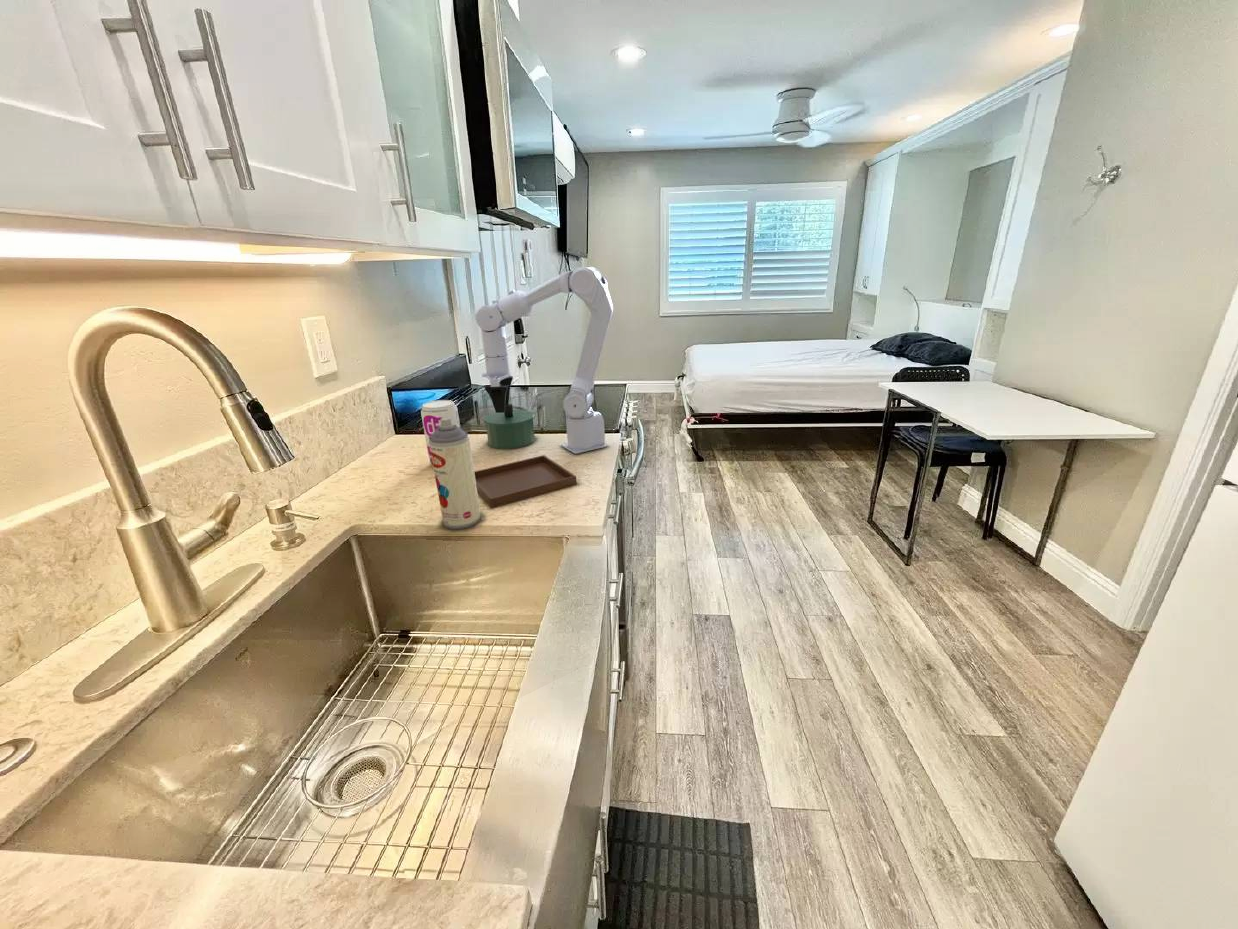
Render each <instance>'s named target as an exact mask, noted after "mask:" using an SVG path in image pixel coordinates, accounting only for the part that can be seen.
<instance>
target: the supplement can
mask: <svg viewBox="0 0 1238 929" xmlns="http://www.w3.org/2000/svg"><path fill="white" fill-rule="evenodd" d="M458 411H459V410H458V406H457V405H456V403H454V401H453V400H451V399H450V400H449V399H439V400H438V399H437V400H432V401H428V402H425V403H423V404H422V408H421V410H420V415H421V421H422V427H423V431H424V432H423V433H424V437H425V443H426V449H427V453H428V460H429V464H430V465H431V466H433V463H432V458H431V452H430V447H429V441H430V440H429V437H430V436H431V435H432V434H433V433H434V431H435V430H436V429H438V427H439V426H440V425H441V419H442V418H446V417H449V418H451V421H452V423H454V424H455V425H456V426H457V427H460V428H461V424H460V417H459V412H458Z"/></svg>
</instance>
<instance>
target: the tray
mask: <svg viewBox="0 0 1238 929" xmlns="http://www.w3.org/2000/svg"><path fill="white" fill-rule="evenodd" d="M474 473H475V480H476V487H477V493H478V495H479V496H480V497H481V498H482V499H483V500H484V501H485V502H486V503H487V504H488V506H490V508H496V507H499V506H503V505H506V504H511V503H513V502H518V501H521V500H525V499H528V498H533V497H536V496H540V495H543V494H546V493H550V492H553V491H557V490H562V489H564V488H568V487H572V486H575V485H577V483H578V482H577V476H576V475H575V474H573V473H572V472H571V471H569V470H568V469H566V468H565V467H563V466H562V465H560V464H558V463H557V462H555V461H554V460H552V458H549V457H548V456H546V455H545V454H543V455H538V456H535V457H530V458H525V459H522V460H518V461H517V460H516V461H512V462H509V463H504V464H501V465H496V466H492V467H487V468H483V469H479V470H474Z"/></svg>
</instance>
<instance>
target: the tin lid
mask: <svg viewBox="0 0 1238 929" xmlns="http://www.w3.org/2000/svg"><path fill="white" fill-rule="evenodd" d="M513 407H514V406H513V404H512V403H509V404H508V405H505V412H504V413H496V411H495V412H491V413H489V414H486V415H485V416H484V417H483V422H484V423H485V425H486V424H489V425H494V426H511V425H518V424H523V423H526V422H529V421H531V420H532V419H533V420H534V419H535V413H534V412H532V411H530V410H525V409H514V408H513Z"/></svg>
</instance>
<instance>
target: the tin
mask: <svg viewBox="0 0 1238 929" xmlns="http://www.w3.org/2000/svg"><path fill="white" fill-rule="evenodd" d="M485 428H486V435H487V442H488V446H490V447H491V448H494V449H501V450H513V449H520V448H523V447H526V446H529V445H532V444H533V443H534V442H535V440H536V439H535V437H536V436H535V427H534V419H532V420H531V421H529V422H526V423H523V424H518V425H511V426H494V425H489V424H486V423H485Z"/></svg>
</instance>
